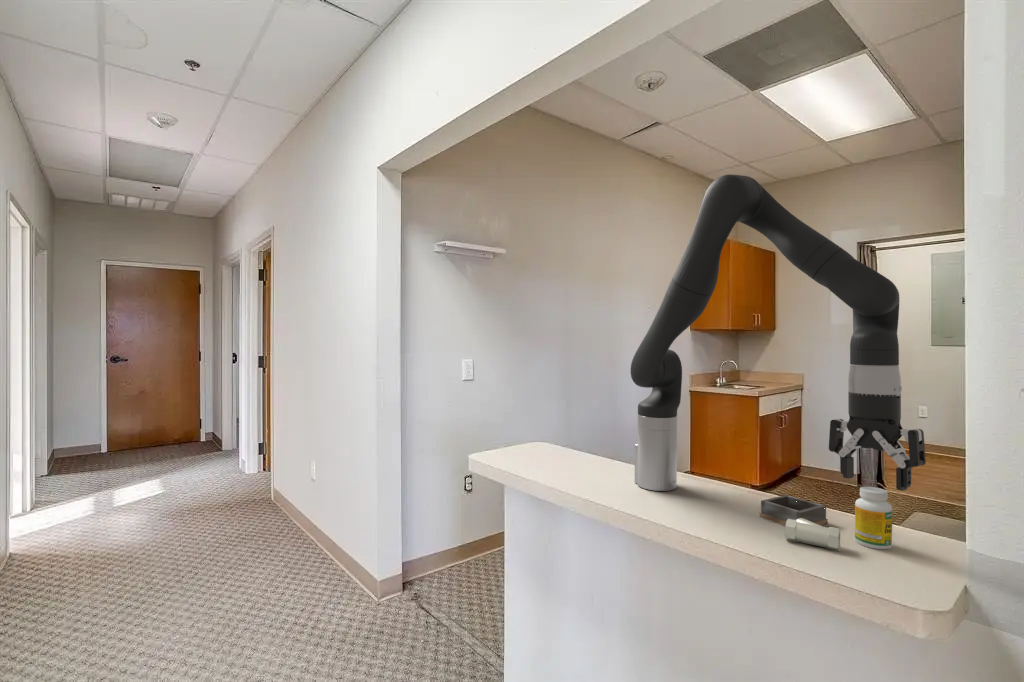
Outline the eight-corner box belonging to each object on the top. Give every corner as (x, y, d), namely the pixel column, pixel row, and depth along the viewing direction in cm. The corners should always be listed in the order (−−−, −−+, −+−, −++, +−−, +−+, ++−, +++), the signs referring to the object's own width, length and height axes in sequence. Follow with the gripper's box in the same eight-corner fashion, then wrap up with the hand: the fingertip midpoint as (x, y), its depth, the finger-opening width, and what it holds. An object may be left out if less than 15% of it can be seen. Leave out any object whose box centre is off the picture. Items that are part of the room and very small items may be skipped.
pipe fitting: (791, 534, 96) (784, 542, 91) (791, 513, 96) (785, 520, 91) (841, 544, 91) (838, 554, 86) (842, 522, 92) (838, 530, 86)
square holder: (759, 516, 104) (759, 500, 104) (785, 510, 108) (785, 494, 108) (800, 530, 96) (801, 513, 96) (827, 523, 100) (827, 506, 100)
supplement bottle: (857, 535, 94) (857, 483, 94) (893, 543, 90) (894, 489, 90) (852, 544, 90) (853, 489, 90) (890, 553, 86) (890, 496, 86)
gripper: (820, 388, 94) (820, 476, 94) (910, 395, 82) (910, 497, 82) (843, 386, 98) (843, 472, 98) (933, 393, 85) (933, 491, 85)
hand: (874, 483), depth 90 cm, fingers open, 8 cm apart
